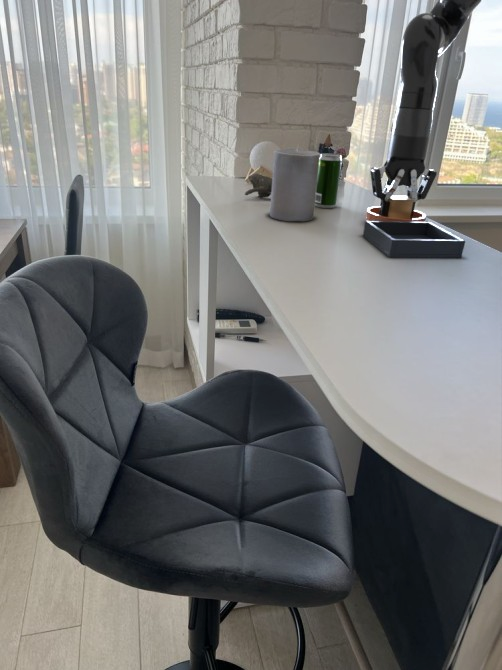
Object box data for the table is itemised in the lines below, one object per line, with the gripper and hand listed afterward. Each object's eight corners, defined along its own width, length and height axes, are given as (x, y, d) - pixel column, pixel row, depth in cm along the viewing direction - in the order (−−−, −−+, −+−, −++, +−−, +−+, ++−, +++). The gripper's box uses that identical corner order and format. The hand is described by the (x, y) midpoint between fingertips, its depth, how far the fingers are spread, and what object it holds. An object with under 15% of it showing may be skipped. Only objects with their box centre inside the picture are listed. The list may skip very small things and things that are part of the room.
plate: (408, 220, 115) (410, 206, 114) (433, 234, 104) (436, 219, 103) (357, 219, 113) (359, 205, 112) (376, 233, 102) (379, 218, 101)
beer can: (326, 209, 120) (332, 156, 115) (309, 205, 124) (314, 153, 119) (340, 207, 124) (346, 155, 119) (323, 202, 127) (328, 152, 122)
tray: (427, 237, 102) (430, 221, 101) (461, 258, 90) (465, 240, 88) (362, 236, 100) (365, 220, 98) (389, 257, 88) (392, 240, 86)
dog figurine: (290, 197, 131) (293, 168, 128) (292, 202, 126) (295, 171, 123) (244, 195, 131) (245, 165, 127) (244, 200, 125) (245, 169, 122)
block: (400, 216, 110) (404, 195, 108) (409, 221, 106) (413, 199, 104) (381, 216, 110) (384, 195, 108) (389, 221, 106) (392, 199, 104)
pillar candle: (283, 209, 118) (289, 141, 111) (321, 217, 113) (329, 146, 106) (261, 216, 110) (265, 143, 104) (299, 224, 106) (307, 149, 99)
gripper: (383, 133, 96) (369, 222, 104) (453, 136, 98) (434, 223, 106) (369, 130, 103) (357, 214, 110) (435, 132, 105) (419, 215, 112)
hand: (395, 218), depth 108 cm, fingers closed on block, 4 cm apart
